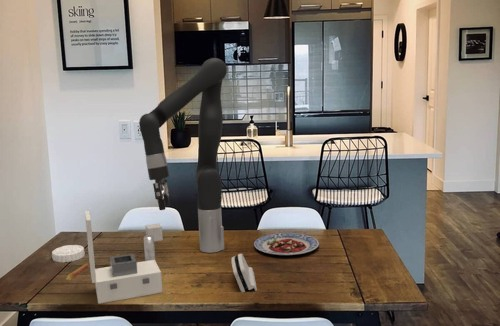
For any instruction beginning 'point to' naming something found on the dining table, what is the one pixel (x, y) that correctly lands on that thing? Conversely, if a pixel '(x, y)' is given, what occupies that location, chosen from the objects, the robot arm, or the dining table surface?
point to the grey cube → (154, 231)
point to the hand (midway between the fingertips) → (164, 208)
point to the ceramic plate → (286, 243)
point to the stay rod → (149, 247)
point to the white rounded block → (243, 273)
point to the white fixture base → (122, 277)
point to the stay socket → (123, 265)
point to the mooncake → (68, 253)
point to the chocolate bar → (78, 272)
